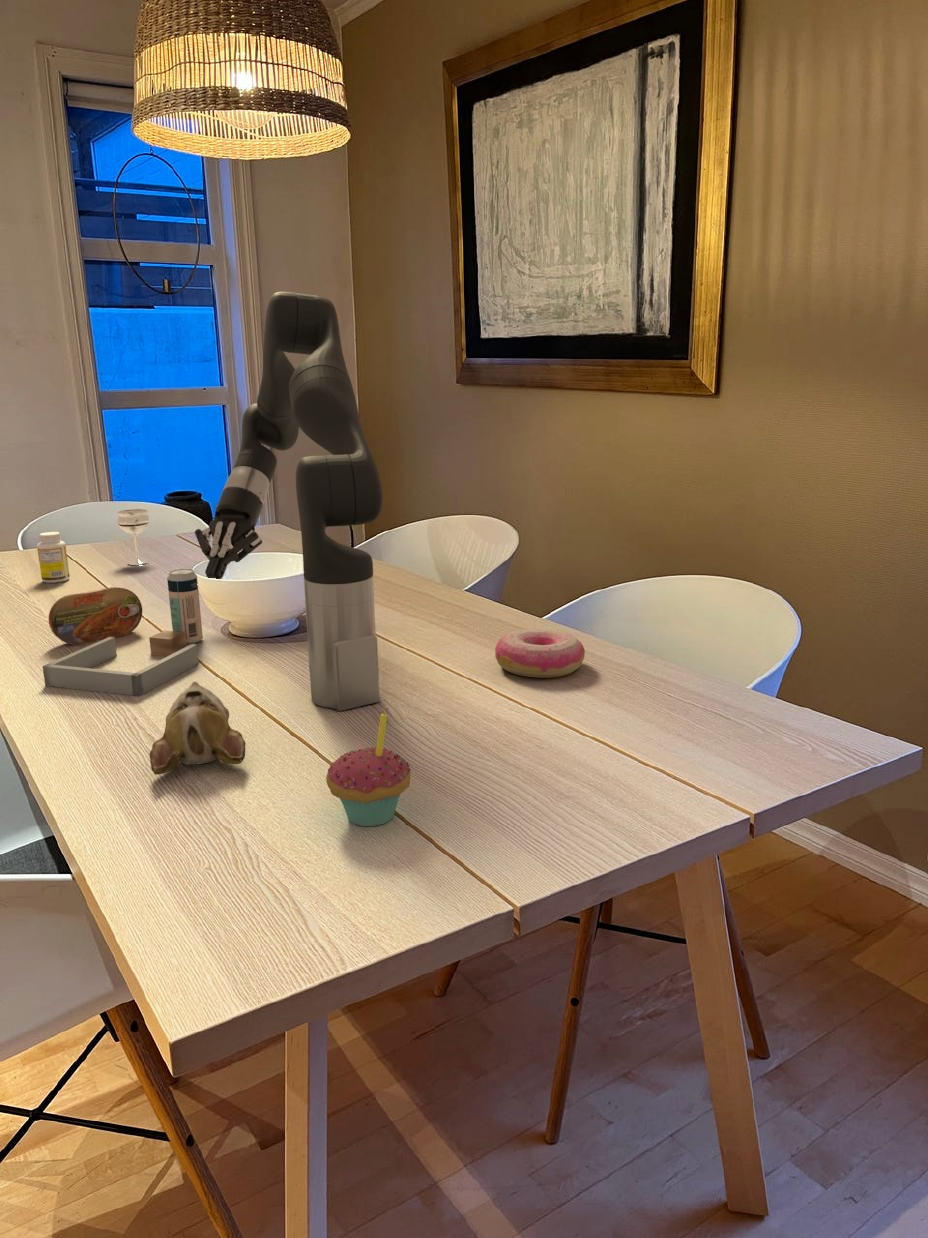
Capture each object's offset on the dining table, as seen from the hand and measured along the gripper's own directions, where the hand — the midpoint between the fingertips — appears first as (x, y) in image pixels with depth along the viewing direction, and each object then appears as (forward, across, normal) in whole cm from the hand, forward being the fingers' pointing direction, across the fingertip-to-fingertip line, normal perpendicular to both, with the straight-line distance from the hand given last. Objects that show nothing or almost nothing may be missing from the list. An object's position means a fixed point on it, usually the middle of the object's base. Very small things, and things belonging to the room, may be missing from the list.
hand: (212, 579), depth 163 cm
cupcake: (+47, +53, -34) cm, 79 cm away
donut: (+11, +59, +2) cm, 60 cm away
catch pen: (+24, 0, -12) cm, 27 cm away
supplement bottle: (-10, -53, +23) cm, 59 cm away
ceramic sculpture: (+41, +28, -28) cm, 57 cm away
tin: (+14, -16, -1) cm, 21 cm away
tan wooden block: (+16, 0, -4) cm, 17 cm away
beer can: (+12, 0, 0) cm, 12 cm away
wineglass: (-23, -46, +36) cm, 63 cm away
